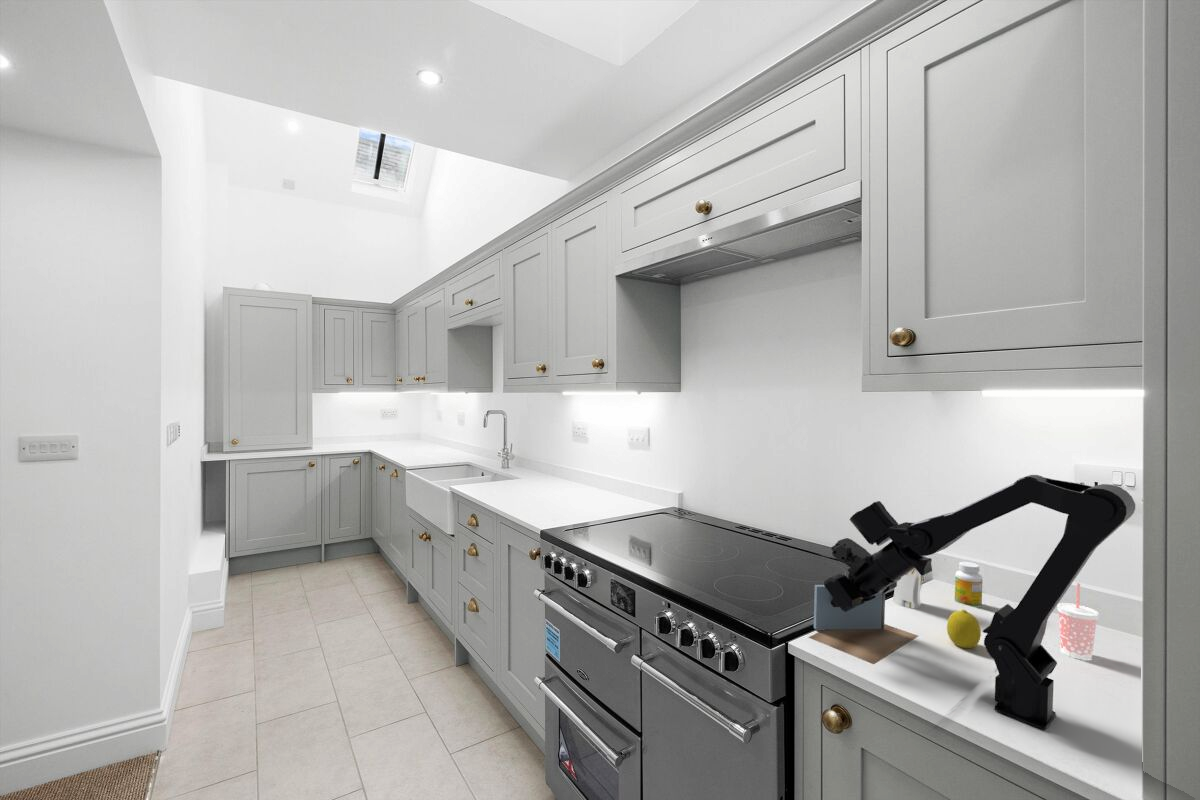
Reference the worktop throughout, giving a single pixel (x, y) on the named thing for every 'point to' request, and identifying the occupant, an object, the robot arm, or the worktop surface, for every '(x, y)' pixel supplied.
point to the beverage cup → (1077, 628)
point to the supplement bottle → (968, 585)
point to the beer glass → (908, 590)
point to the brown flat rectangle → (865, 641)
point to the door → (856, 618)
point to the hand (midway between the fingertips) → (833, 604)
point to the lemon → (963, 629)
